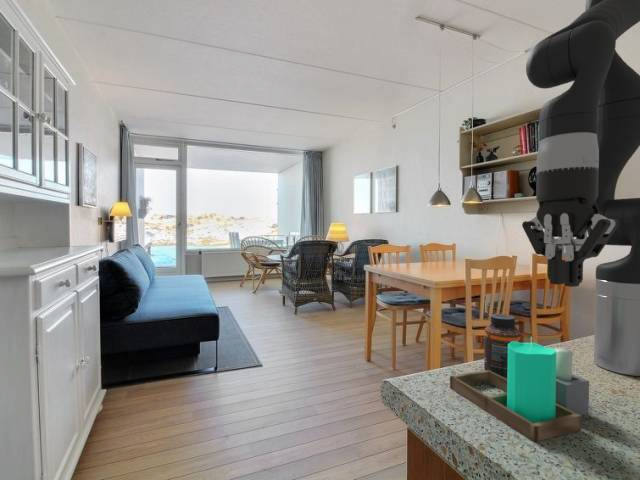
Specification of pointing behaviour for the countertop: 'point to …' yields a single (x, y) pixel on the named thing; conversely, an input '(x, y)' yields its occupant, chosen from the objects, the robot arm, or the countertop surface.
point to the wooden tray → (497, 407)
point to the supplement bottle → (499, 343)
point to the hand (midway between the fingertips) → (564, 284)
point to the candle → (531, 381)
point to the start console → (573, 395)
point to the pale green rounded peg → (563, 364)
